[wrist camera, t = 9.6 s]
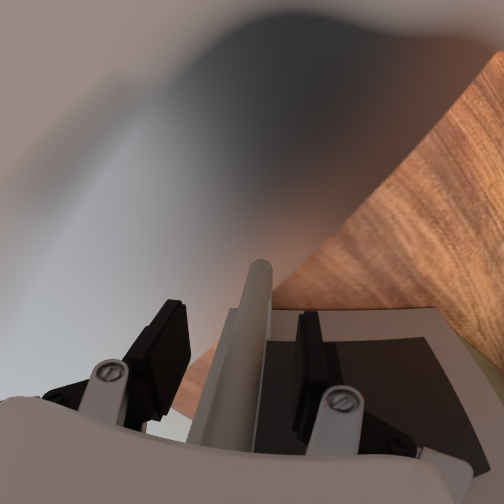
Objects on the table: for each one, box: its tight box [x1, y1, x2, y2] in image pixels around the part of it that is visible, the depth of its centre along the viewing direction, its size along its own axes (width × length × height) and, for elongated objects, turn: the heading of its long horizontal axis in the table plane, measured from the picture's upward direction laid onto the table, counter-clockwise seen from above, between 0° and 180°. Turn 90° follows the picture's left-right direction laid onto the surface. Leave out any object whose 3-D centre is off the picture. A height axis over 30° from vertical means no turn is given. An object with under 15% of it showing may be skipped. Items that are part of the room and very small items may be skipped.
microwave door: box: [186, 260, 504, 504], centre depth 14 cm, size 7×20×22 cm, turn 91°
